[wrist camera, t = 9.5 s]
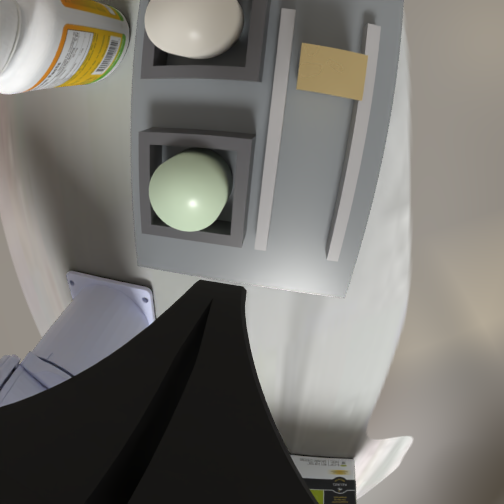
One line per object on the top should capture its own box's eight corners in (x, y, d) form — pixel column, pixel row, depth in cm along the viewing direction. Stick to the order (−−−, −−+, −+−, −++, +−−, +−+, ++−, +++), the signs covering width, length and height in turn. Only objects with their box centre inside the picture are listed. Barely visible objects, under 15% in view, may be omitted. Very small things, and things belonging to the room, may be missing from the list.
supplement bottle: (61, 25, 13) (-55, 23, 5) (128, -6, 12) (13, -45, 4) (68, 95, 16) (-52, 123, 7) (137, 69, 15) (11, 72, 6)
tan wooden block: (348, 98, 12) (362, 101, 10) (295, 89, 13) (296, 89, 10) (353, 62, 12) (368, 55, 9) (300, 52, 12) (301, 42, 9)
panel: (341, 279, 20) (347, 315, 17) (149, 250, 21) (127, 279, 18) (392, -3, 11) (414, -21, 8) (159, -22, 12) (131, -40, 9)
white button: (240, 60, 12) (230, 55, 10) (161, 60, 12) (140, 56, 10) (248, -11, 10) (239, -28, 8) (169, -9, 10) (150, -21, 8)
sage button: (230, 217, 17) (221, 236, 15) (166, 209, 17) (150, 226, 15) (235, 150, 15) (226, 160, 13) (166, 145, 15) (148, 154, 13)
